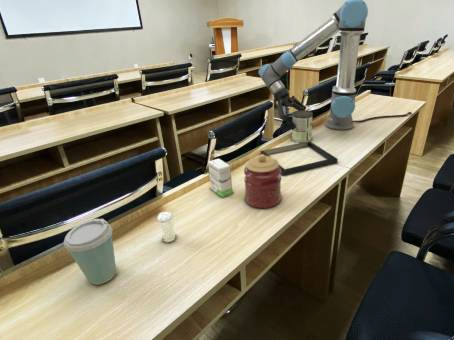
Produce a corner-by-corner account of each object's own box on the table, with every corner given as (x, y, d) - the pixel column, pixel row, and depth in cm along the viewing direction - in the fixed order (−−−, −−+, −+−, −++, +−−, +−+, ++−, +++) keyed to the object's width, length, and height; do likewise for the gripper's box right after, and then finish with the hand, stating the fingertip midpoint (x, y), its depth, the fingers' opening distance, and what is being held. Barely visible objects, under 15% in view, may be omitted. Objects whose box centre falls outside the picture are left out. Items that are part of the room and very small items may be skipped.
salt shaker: (156, 240, 93) (150, 212, 88) (172, 232, 96) (167, 205, 91) (163, 247, 90) (157, 219, 85) (180, 238, 93) (175, 211, 88)
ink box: (233, 193, 116) (231, 165, 110) (221, 197, 113) (219, 169, 107) (221, 184, 122) (218, 157, 116) (210, 188, 119) (207, 161, 113)
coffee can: (291, 135, 167) (292, 110, 161) (311, 135, 166) (312, 110, 160) (291, 142, 158) (292, 116, 152) (311, 142, 157) (313, 116, 151)
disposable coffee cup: (83, 298, 74) (63, 251, 67) (76, 271, 82) (58, 226, 75) (129, 278, 80) (114, 232, 73) (118, 254, 87) (105, 211, 81)
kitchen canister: (237, 199, 112) (234, 155, 104) (263, 186, 120) (262, 144, 112) (263, 213, 104) (262, 167, 95) (288, 198, 112) (289, 154, 103)
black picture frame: (309, 144, 155) (309, 141, 154) (337, 162, 136) (337, 158, 136) (260, 154, 146) (260, 150, 145) (282, 175, 127) (282, 171, 126)
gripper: (289, 91, 172) (310, 122, 170) (260, 101, 155) (283, 135, 153) (297, 83, 166) (319, 115, 164) (267, 92, 150) (292, 127, 148)
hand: (302, 125), depth 159 cm, fingers open, 13 cm apart
